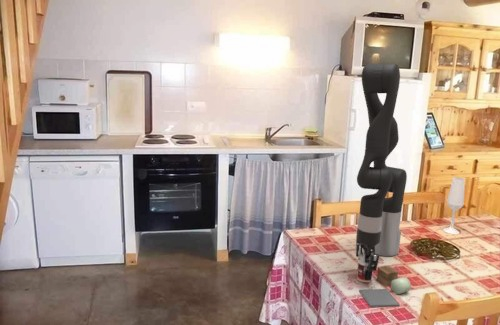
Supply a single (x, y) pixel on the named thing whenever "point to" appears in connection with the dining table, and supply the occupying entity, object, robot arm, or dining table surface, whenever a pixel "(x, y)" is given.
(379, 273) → the walnut cube
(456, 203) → the champagne flute
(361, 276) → the pill bottle
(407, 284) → the green tub
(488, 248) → the dining table surface
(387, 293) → the plate
